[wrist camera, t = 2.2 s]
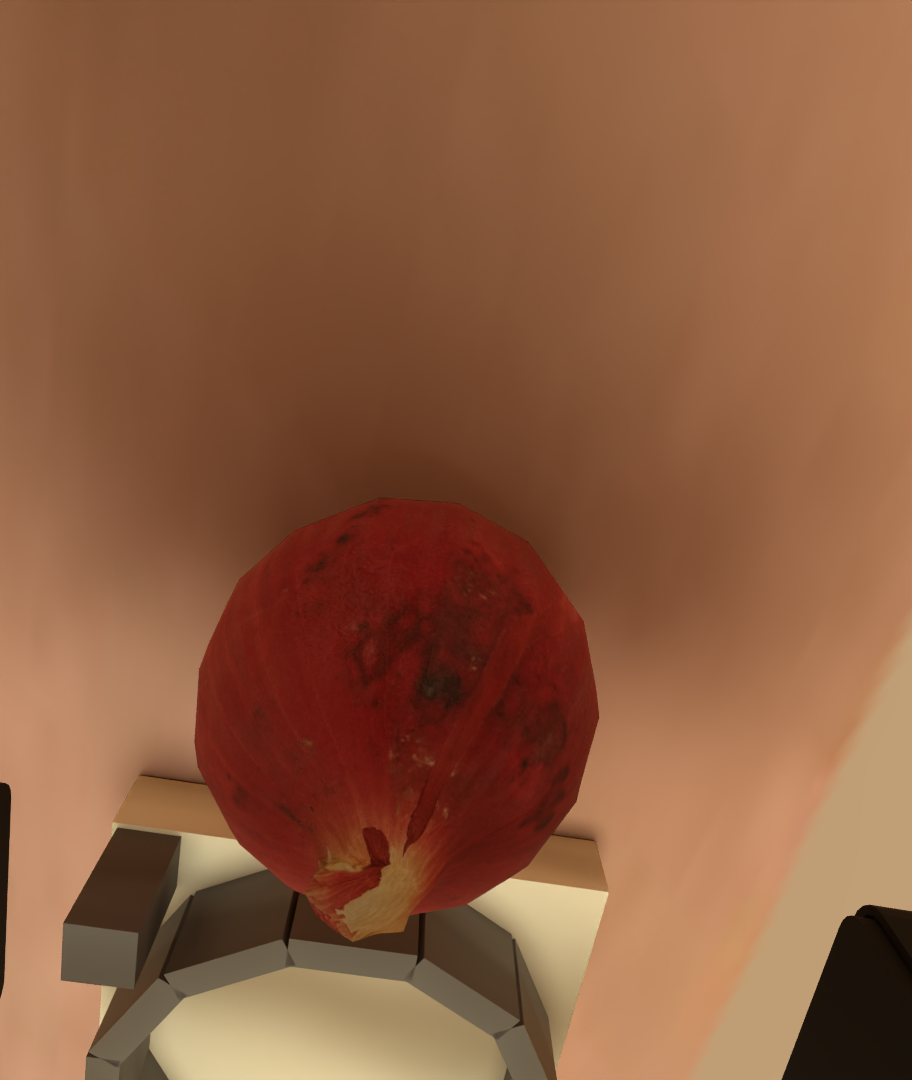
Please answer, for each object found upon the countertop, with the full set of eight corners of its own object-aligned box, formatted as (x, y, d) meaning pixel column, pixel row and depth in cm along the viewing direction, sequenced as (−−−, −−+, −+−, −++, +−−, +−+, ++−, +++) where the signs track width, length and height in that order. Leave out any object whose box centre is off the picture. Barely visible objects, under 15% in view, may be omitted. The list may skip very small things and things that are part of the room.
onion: (342, 391, 15) (238, 540, 7) (619, 541, 16) (778, 807, 8) (208, 654, 17) (9, 997, 9) (466, 775, 18) (484, 1177, 10)
